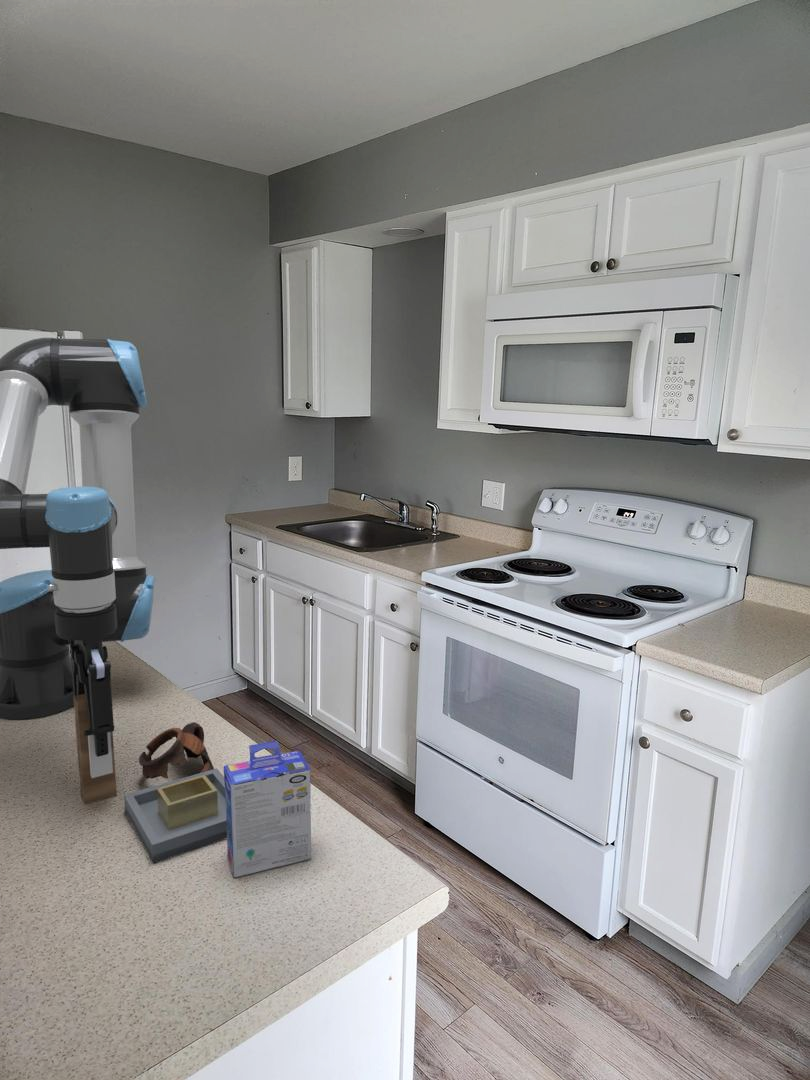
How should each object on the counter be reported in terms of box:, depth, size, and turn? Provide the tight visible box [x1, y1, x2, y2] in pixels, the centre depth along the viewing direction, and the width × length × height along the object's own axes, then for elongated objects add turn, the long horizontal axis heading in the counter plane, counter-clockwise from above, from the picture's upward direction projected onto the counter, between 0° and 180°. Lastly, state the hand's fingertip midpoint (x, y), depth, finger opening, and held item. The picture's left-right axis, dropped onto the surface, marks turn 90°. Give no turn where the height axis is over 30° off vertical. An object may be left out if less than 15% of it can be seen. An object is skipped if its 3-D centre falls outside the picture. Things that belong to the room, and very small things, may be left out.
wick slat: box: [73, 694, 118, 805], centre depth 101 cm, size 3×4×15 cm, turn 125°
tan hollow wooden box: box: [157, 775, 218, 830], centre depth 97 cm, size 5×6×4 cm
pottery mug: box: [138, 721, 215, 779], centre depth 109 cm, size 12×10×8 cm
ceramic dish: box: [123, 768, 227, 864], centre depth 97 cm, size 13×13×2 cm
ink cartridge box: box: [223, 740, 312, 878], centre depth 89 cm, size 10×6×14 cm, turn 114°
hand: (96, 764), depth 101 cm, fingers open, 5 cm apart
